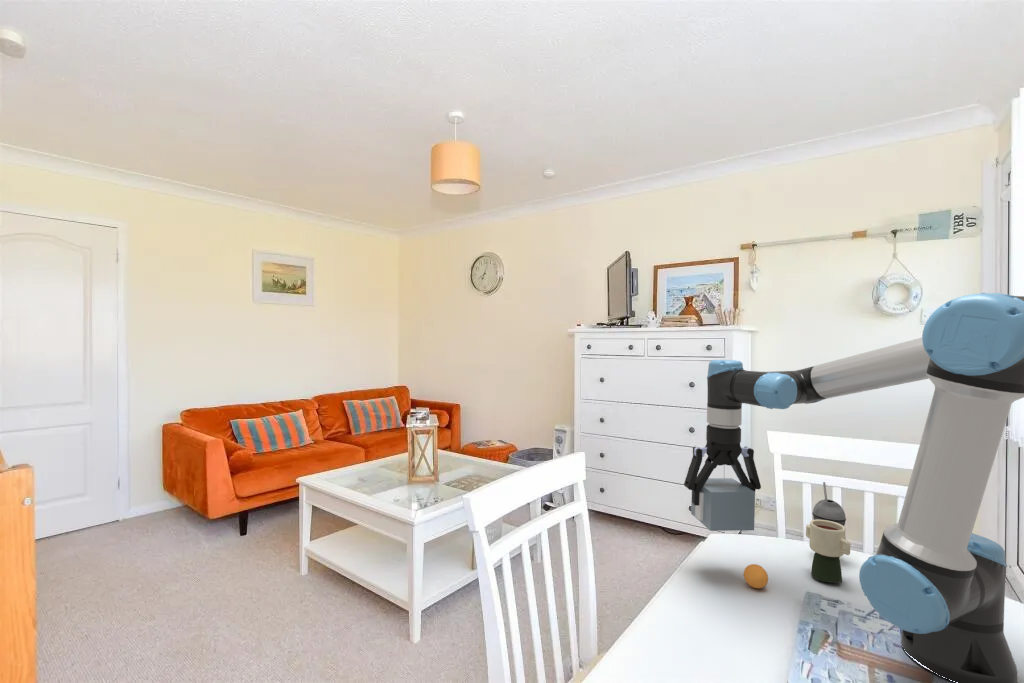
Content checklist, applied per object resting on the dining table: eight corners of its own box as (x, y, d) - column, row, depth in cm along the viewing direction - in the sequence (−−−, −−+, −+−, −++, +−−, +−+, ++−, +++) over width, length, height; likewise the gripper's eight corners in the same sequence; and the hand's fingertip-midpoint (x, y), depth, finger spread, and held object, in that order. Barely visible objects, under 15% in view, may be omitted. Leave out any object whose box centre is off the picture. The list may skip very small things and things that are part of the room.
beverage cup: (844, 570, 119) (846, 489, 119) (809, 561, 124) (811, 483, 123) (846, 559, 125) (847, 482, 125) (812, 551, 129) (814, 477, 129)
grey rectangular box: (731, 513, 121) (732, 478, 120) (754, 530, 110) (755, 491, 110) (691, 513, 120) (692, 478, 120) (710, 530, 110) (711, 492, 110)
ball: (772, 590, 110) (773, 568, 110) (757, 594, 108) (757, 572, 108) (753, 579, 114) (754, 558, 114) (738, 584, 112) (738, 562, 112)
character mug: (860, 588, 111) (861, 532, 111) (837, 593, 108) (838, 535, 108) (816, 566, 121) (817, 514, 121) (794, 570, 119) (795, 518, 119)
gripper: (761, 422, 119) (759, 512, 120) (670, 422, 118) (668, 512, 118) (780, 428, 112) (777, 524, 112) (683, 428, 110) (680, 525, 111)
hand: (721, 518), depth 115 cm, fingers closed on grey rectangular box, 10 cm apart
